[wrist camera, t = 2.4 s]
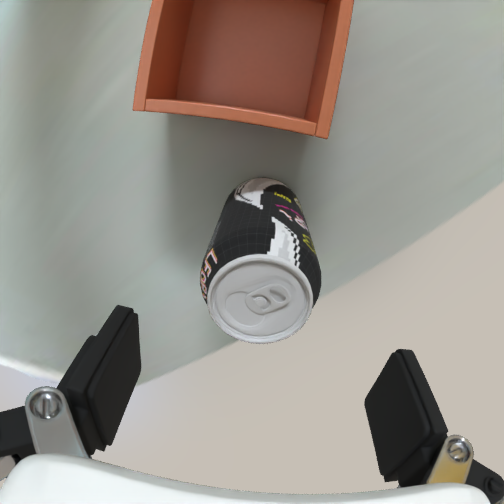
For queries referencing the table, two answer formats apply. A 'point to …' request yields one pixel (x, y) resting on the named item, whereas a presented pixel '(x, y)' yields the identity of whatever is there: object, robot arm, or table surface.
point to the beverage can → (261, 264)
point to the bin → (245, 61)
